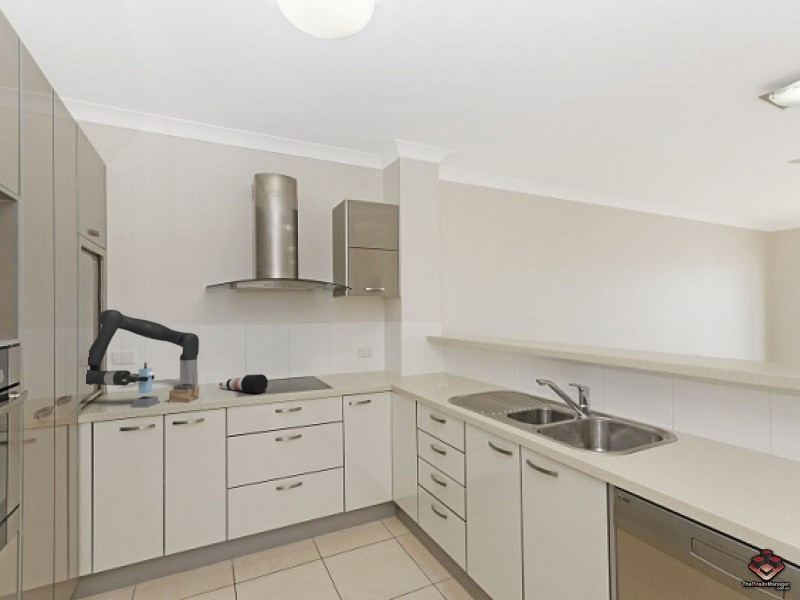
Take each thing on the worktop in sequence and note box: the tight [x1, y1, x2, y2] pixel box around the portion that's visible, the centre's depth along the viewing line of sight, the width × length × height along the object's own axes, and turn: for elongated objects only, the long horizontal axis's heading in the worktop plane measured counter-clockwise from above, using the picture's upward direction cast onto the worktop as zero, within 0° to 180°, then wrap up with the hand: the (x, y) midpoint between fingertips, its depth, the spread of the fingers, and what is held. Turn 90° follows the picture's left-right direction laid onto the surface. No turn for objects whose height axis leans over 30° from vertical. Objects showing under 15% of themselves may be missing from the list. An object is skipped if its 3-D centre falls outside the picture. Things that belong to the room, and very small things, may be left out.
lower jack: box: [130, 395, 161, 408], centre depth 202 cm, size 9×9×4 cm
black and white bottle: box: [218, 373, 269, 394], centre depth 234 cm, size 10×34×10 cm, turn 59°
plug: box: [138, 361, 154, 394], centre depth 202 cm, size 4×5×15 cm
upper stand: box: [168, 383, 200, 404], centre depth 212 cm, size 10×10×8 cm
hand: (150, 378), depth 202 cm, fingers closed on plug, 4 cm apart
